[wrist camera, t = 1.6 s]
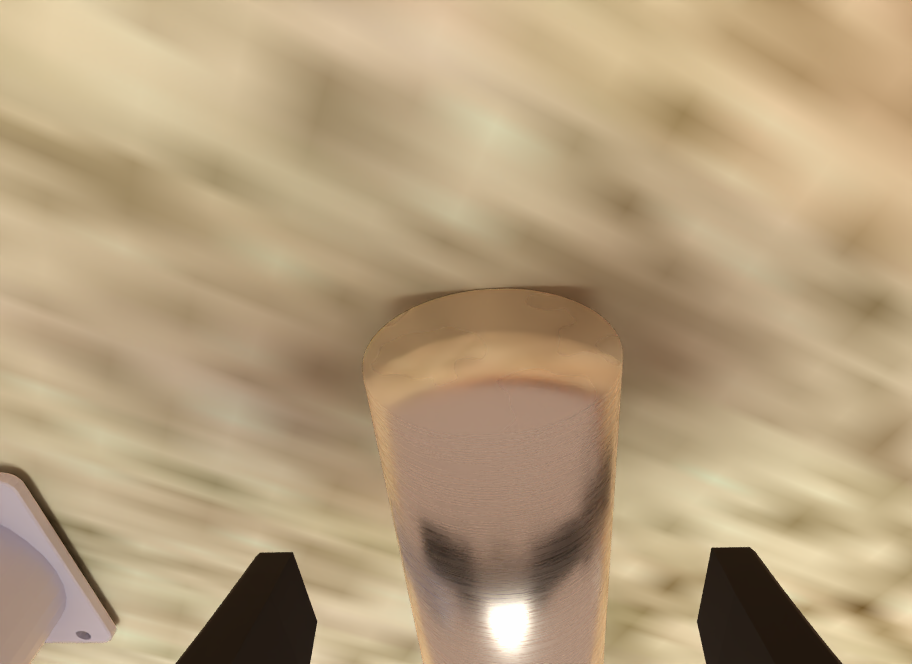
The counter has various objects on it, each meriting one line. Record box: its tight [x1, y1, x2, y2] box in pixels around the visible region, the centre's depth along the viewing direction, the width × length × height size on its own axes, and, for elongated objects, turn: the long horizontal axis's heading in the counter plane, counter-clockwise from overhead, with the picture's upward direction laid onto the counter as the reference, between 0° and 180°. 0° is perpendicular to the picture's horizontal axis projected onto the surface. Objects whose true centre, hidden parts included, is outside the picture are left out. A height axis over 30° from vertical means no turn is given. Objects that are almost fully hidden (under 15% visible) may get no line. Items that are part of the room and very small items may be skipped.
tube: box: [362, 288, 623, 664], centre depth 16 cm, size 18×5×5 cm, turn 5°
